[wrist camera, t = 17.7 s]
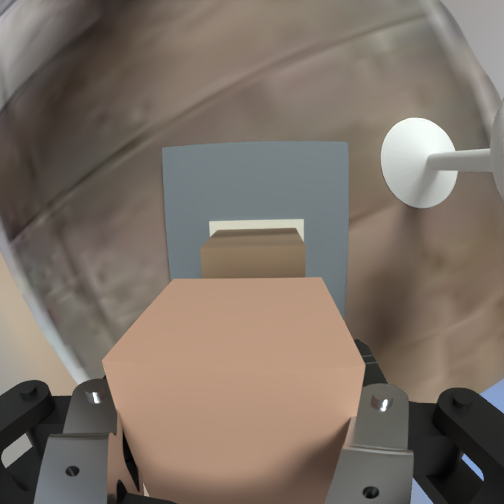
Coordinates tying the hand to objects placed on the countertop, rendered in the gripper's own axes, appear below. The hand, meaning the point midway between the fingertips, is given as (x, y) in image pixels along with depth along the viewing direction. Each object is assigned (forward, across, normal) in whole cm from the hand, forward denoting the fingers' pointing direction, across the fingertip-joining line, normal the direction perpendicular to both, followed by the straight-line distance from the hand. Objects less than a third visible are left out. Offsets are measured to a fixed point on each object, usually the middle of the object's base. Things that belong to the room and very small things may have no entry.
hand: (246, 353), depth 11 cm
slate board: (+12, 0, 0) cm, 12 cm away
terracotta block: (+1, 0, 0) cm, 1 cm away
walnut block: (+11, 0, 0) cm, 11 cm away
